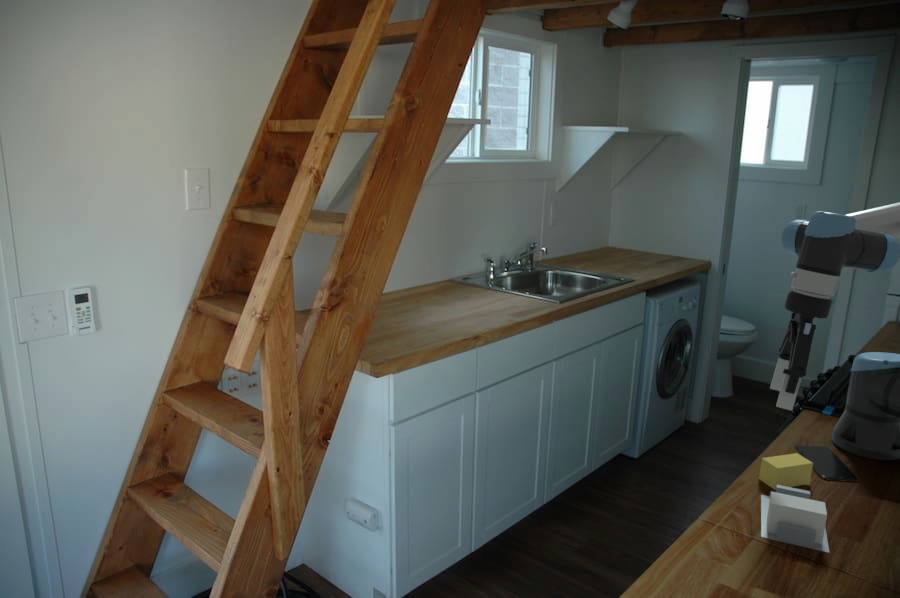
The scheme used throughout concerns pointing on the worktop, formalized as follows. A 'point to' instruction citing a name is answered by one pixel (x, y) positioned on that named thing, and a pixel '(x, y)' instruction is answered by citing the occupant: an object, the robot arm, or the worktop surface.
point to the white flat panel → (796, 513)
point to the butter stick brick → (786, 470)
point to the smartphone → (826, 463)
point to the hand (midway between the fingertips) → (780, 398)
